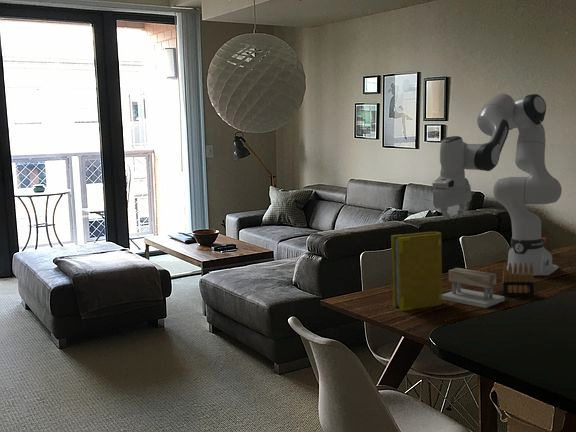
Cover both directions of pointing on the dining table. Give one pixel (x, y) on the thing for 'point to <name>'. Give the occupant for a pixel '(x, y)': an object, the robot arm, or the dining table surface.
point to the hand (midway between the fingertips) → (453, 217)
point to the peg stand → (472, 296)
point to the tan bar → (472, 277)
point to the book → (417, 270)
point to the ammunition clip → (518, 281)
